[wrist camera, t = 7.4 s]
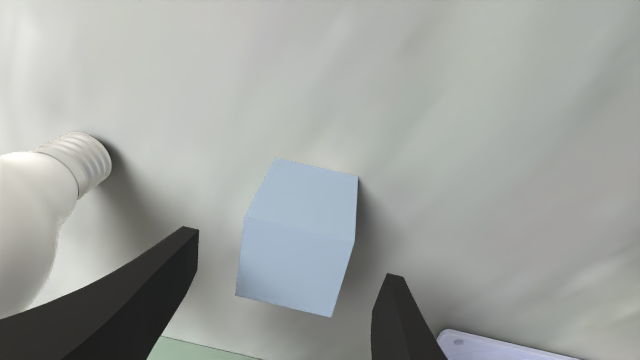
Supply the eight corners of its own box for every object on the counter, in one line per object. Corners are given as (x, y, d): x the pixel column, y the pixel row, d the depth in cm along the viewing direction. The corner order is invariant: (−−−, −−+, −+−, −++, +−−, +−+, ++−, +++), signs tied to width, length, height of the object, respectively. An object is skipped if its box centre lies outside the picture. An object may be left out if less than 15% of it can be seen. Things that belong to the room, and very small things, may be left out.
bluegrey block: (358, 176, 17) (354, 241, 13) (339, 241, 19) (331, 317, 15) (275, 157, 17) (244, 216, 13) (265, 224, 19) (235, 295, 15)
